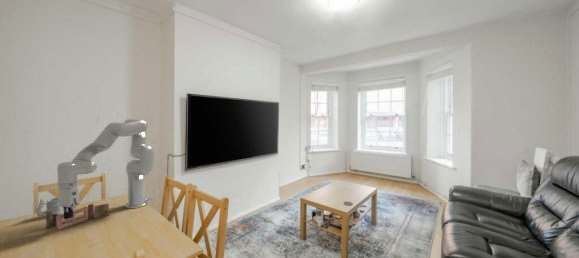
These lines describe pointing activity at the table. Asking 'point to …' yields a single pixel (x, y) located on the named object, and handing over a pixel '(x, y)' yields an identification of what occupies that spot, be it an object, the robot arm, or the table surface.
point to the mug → (49, 207)
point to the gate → (59, 218)
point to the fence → (96, 213)
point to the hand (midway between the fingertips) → (68, 218)
